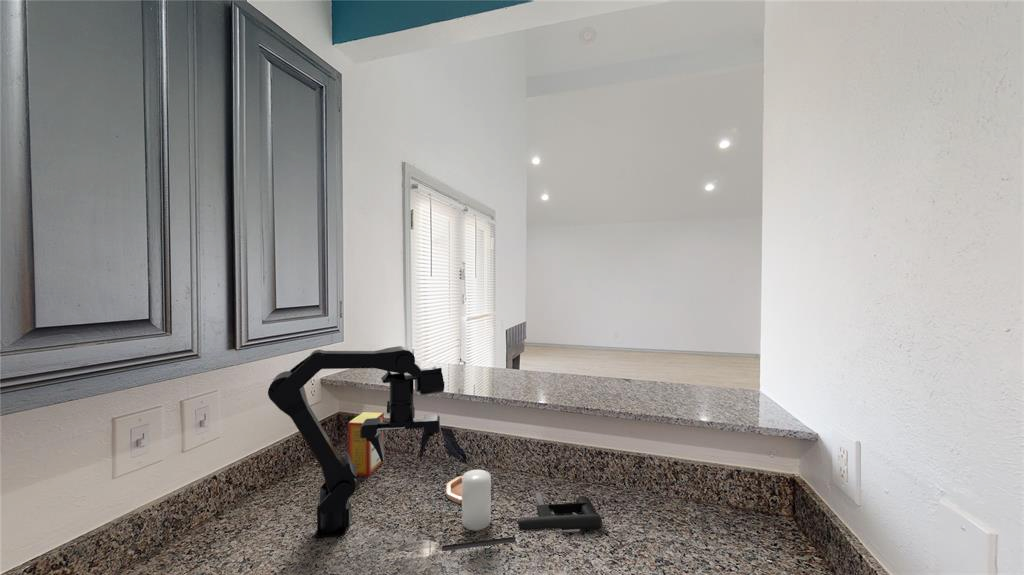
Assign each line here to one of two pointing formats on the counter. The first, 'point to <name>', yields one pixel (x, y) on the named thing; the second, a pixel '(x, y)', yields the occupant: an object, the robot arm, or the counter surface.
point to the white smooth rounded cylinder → (476, 499)
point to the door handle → (563, 516)
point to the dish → (455, 490)
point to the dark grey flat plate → (478, 543)
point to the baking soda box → (363, 445)
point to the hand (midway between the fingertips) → (401, 459)
